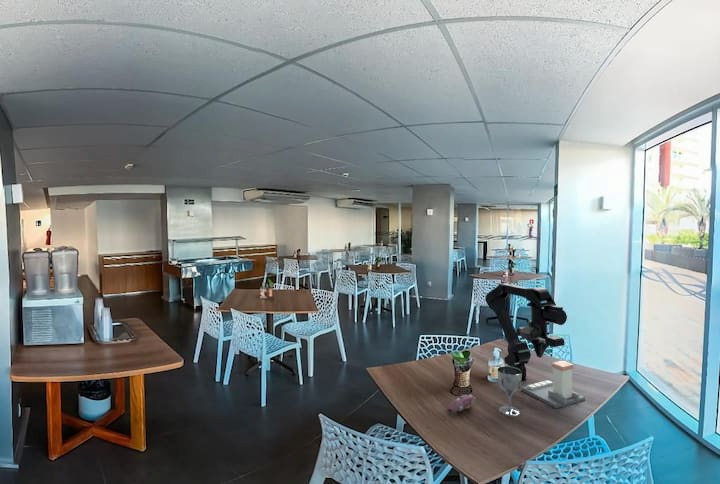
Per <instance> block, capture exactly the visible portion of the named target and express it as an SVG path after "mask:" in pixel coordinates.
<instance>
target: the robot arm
mask: <svg viewBox="0 0 720 484" xmlns="http://www.w3.org/2000/svg"><path fill="white" fill-rule="evenodd" d="M509 295H513V296H517V297H521V298H524V299H526V301H529V302H528V303H526V306H527V307H529V308H530V312H531V313H530V315H531V316H530V318H531V319H530V320H529V321H528V324H527V326H520V327H518V328H517V329H516V328H515V327H514V324H513V322H512V320H511V318H510V315H509V314H508V310H507V298H508V297H509ZM484 300H485V302H486V305H487V306H488V307H489V309H490V310H492V311H493V312H494V313H495V315H496V318H497V320H498V322H499V325H500V328H501V330H502V331H503V334H504V336H505V339H506V341H507V353H508V354H507V355H506V356H505V357H504V358H503V360H504V364H506V365H507V366H511V367H515V368H518V369H520V370H521V381H527V368H526V364H527V365H528V364H529V361H530V359H531V357H532V355H531V349H530V348H529V346H528V343H527V342H526V341H522V340H527V341H528V342H530V343H531V345H532V348H533V349H534V352H535V355H536V357H537V358H539V359H540V358H542V357H543V355H544V354H545V352H546V350H547V349H548V348H549V347H551V348H557V347H563V346H565V339H564V338H563V337H561V336H557V335H551V336H550V331H548V326H549V325H550V323H552V324H556V325H558V326H563V325H564V324H565V323H566V322H567V320H568V315H567V313H566V311H565V310H564V307H563V306H558V305H557V304H556V301H555V300H554V299H553V297H552V295H551V294H550V291H549V290H548V288H547V287H526V286H521V285H516V284H511V283H509V282H506V283H499V284H498V285H497V286H496V287H495V288H493V289H492V290H491V291H489V292H488V293H486V295H485V298H484ZM519 336H520V337H521V339H522V340H521V339H520V338H519Z"/></svg>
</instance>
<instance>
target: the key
mask: <svg viewBox="0 0 720 484" xmlns="http://www.w3.org/2000/svg"><path fill="white" fill-rule="evenodd" d="M551 368H552V380H553V381H552V382H553V392H555V393H557V394H559V395H561V396H563V397H566V399H567V398H571V397H572V391H573V369H574V364H573V363H571V362H567V361H565V360H558V361H555V362H551Z"/></svg>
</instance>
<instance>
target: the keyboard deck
mask: <svg viewBox="0 0 720 484" xmlns="http://www.w3.org/2000/svg"><path fill="white" fill-rule="evenodd" d="M520 389H521V391H522V392H524V393H526V394H528V395H530V396H531V397H534V398H535V399H538V400H540V402H541V401H542V402H544V403H545V404H546V405H549V406H551V407H553V408H555V409H558V408H562V407H563V408H564V407H566V406H570V405H572V404H575V403H576V404H577V403H580V402H584V401H585V400H586V396H585V395H584V396H583V395H582V394H580V393H578V392H575V391H574V390H572V397H571V398H567V399H566V397H563V396H561V395H559V394H557V393H555V392H553V381H551V380H548V379H547V380H543V381H539V382H535V383H532V384H527V385H525V386H521V388H520Z"/></svg>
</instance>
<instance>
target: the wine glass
mask: <svg viewBox="0 0 720 484" xmlns="http://www.w3.org/2000/svg"><path fill="white" fill-rule="evenodd" d="M496 372H497V380H498V383H499V386H500V388H501V389H503V391H504V392H505V394H506V396H507V401H508V405H503V406H500V407H499V408H498V411H499V412H500V413H501V412H502V413H503V414H502V413H501V414H502V415H504V414H505V415H504V416H507V415H508V416H507V417H519V416H520V415H521V411H520V410H519V409H518V408H516V407H514V406H511V405H512V397H513V394H514V393H515V392H517V391H518V390H519V389H520V386H521V383H522V380H521V370H520V369H518V368H515V367H511V366H508V365H502V366H498V367H497V371H496ZM518 415H519V416H518Z"/></svg>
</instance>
